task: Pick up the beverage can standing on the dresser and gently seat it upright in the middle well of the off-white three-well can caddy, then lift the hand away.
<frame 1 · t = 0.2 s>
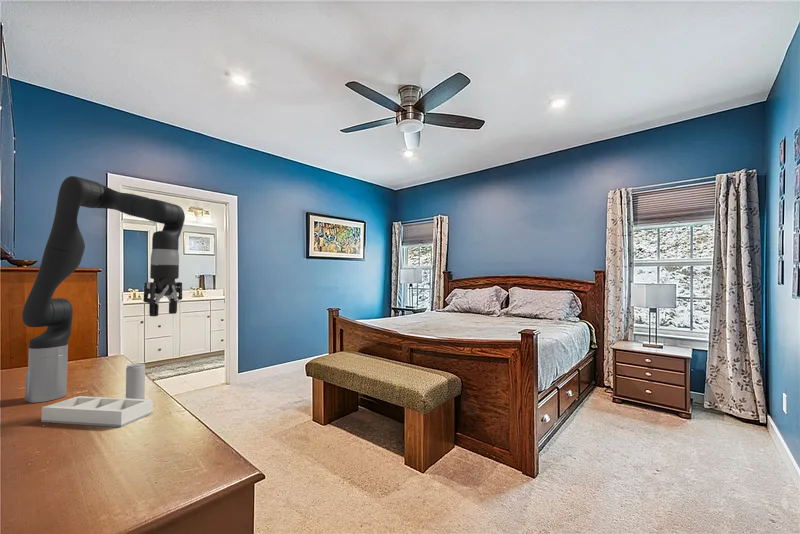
hand: (163, 314, 109), 28 cm above the dresser, tool pointing down, fingers open, 8 cm apart
can caddy: (98, 417, 97), on the dresser
beverage can: (135, 403, 109), on the dresser
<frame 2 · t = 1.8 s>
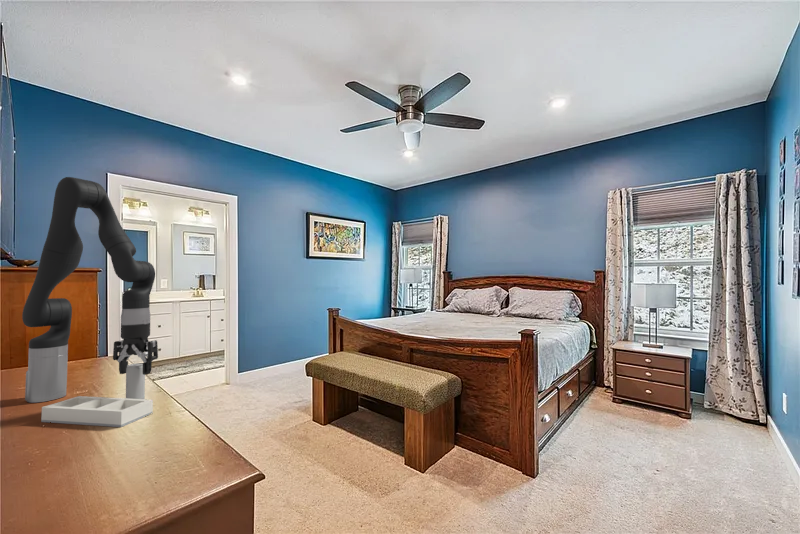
hand: (135, 373, 109), 9 cm above the dresser, tool pointing down, fingers open, 8 cm apart
nothing on the dresser moved.
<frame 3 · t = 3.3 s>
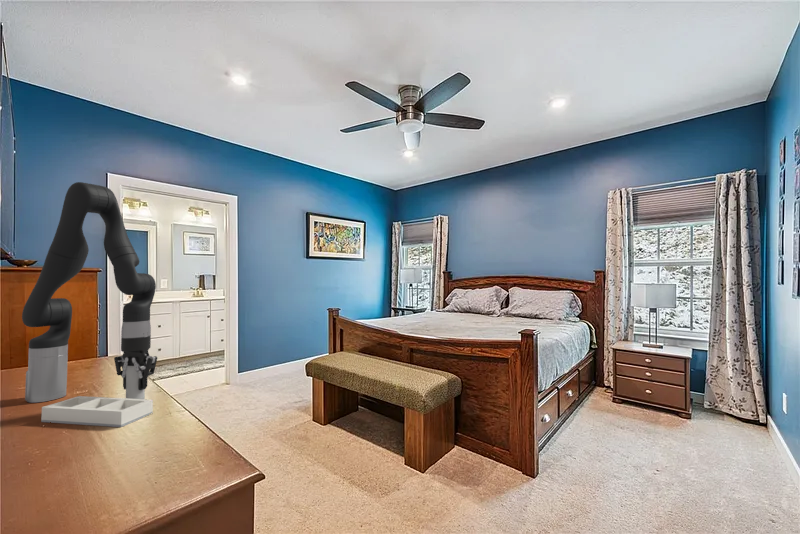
hand: (135, 388, 109), 4 cm above the dresser, tool pointing down, fingers closed on beverage can, 5 cm apart
beverage can: (135, 403, 109), on the dresser, touching gripper
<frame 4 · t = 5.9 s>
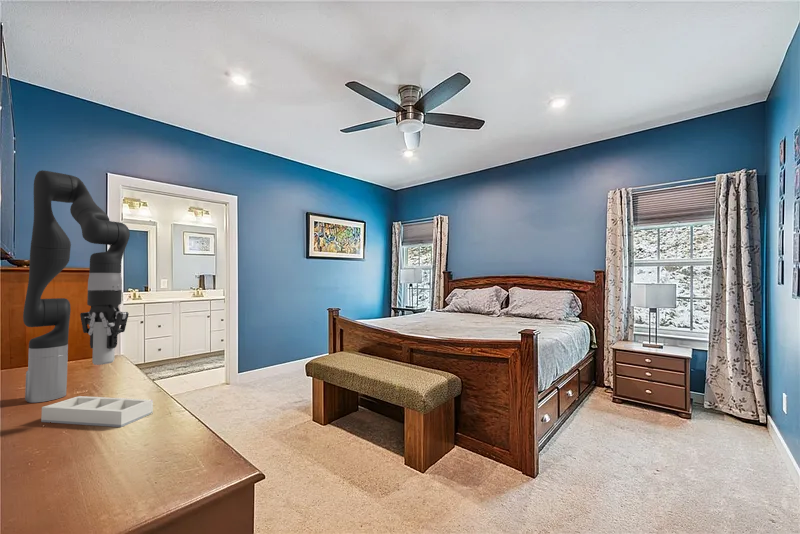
hand: (103, 347, 99), 19 cm above the dresser, tool pointing down, fingers closed on beverage can, 5 cm apart
beverage can: (103, 363, 99), point 15 cm above the dresser, touching gripper
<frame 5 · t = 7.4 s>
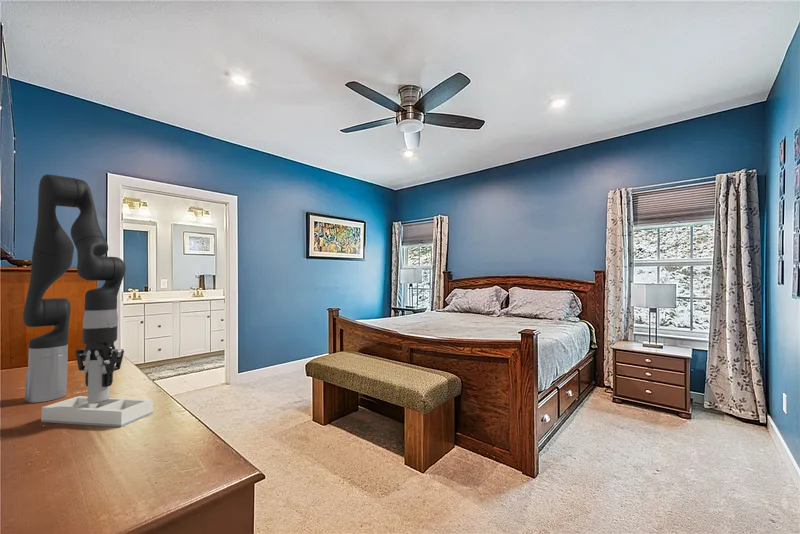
hand: (98, 385, 97), 9 cm above the dresser, tool pointing down, fingers closed on beverage can, 5 cm apart
beverage can: (98, 402, 97), point 4 cm above the dresser, touching gripper
when the fingers open (6 cm above the dresser, at t = 8.8 s): beverage can stays where it is, resting on can caddy.
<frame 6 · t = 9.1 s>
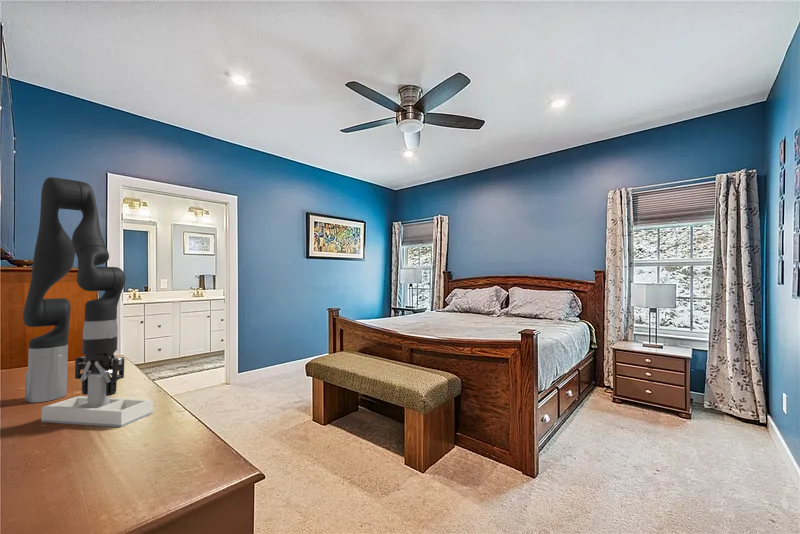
hand: (98, 394, 97), 6 cm above the dresser, tool pointing down, fingers open, 7 cm apart
beverage can: (98, 416, 97), resting on can caddy
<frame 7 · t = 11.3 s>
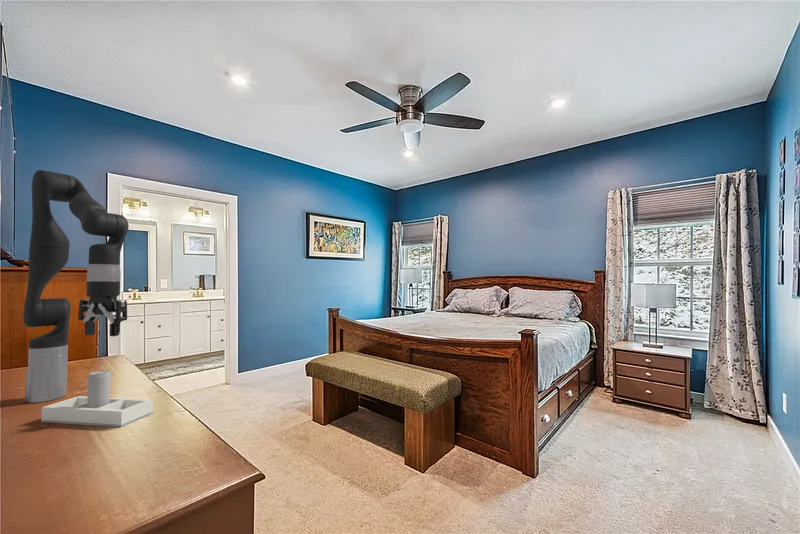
hand: (102, 335, 100), 23 cm above the dresser, tool pointing down, fingers open, 8 cm apart
nothing on the dresser moved.
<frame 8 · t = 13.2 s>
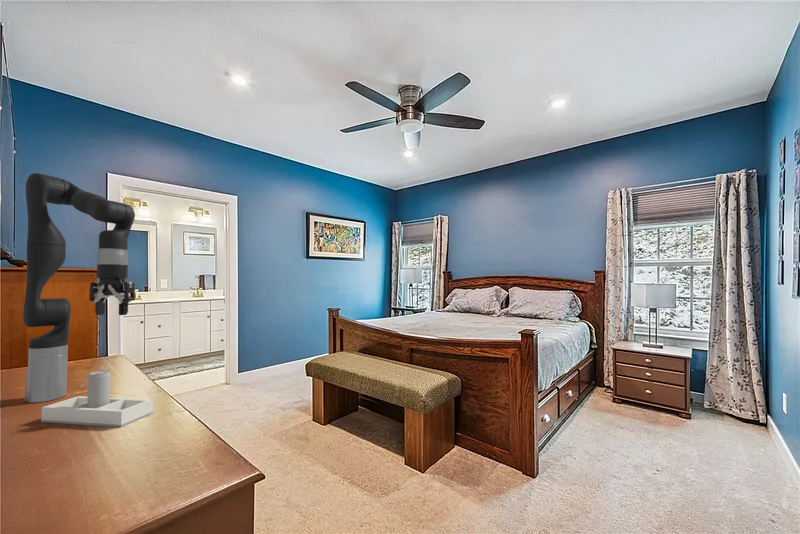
hand: (111, 314, 108), 28 cm above the dresser, tool pointing down, fingers open, 8 cm apart
nothing on the dresser moved.
at the end: beverage can 0.2 cm off-centre on the can caddy, point 0.4 cm above the can caddy's base; beverage can tilted 0°; the gripper is holding nothing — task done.
